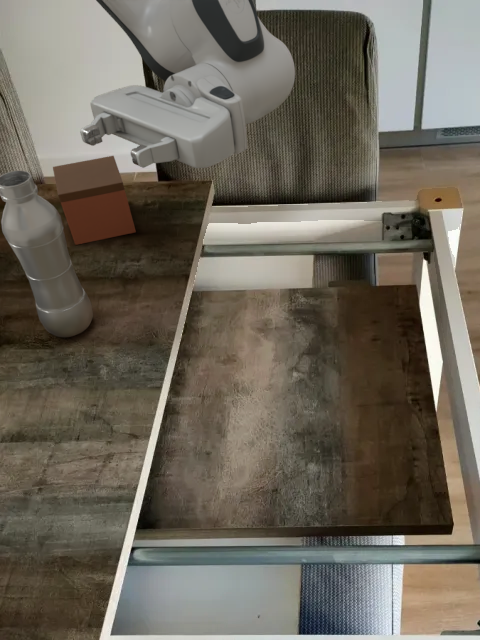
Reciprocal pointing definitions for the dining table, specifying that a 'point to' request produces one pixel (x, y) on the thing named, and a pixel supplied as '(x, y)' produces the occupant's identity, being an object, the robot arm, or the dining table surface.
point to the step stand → (93, 199)
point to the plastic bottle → (43, 256)
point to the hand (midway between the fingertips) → (109, 148)
